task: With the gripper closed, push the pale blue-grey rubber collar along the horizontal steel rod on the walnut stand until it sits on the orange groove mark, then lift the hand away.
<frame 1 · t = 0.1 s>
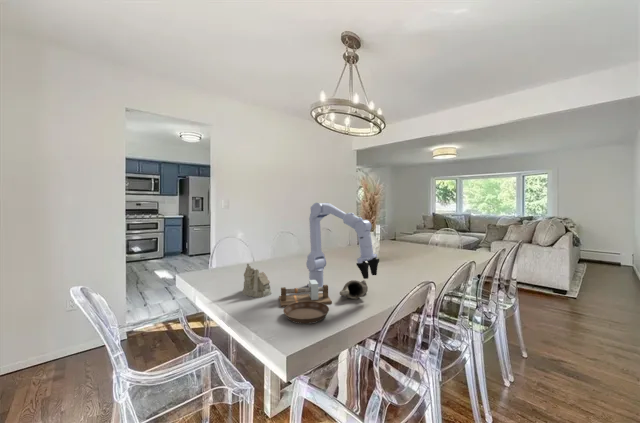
hand: (370, 276, 128), 11 cm above the table, tool pointing down, fingers open, 7 cm apart
ceramic cottage: (259, 292, 141), on the table
collar: (313, 289, 128), point 5 cm above the table, slide at 8.0 cm
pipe: (355, 297, 133), on the table
plant saucer: (306, 317, 110), on the table
rod stand: (304, 300, 127), on the table
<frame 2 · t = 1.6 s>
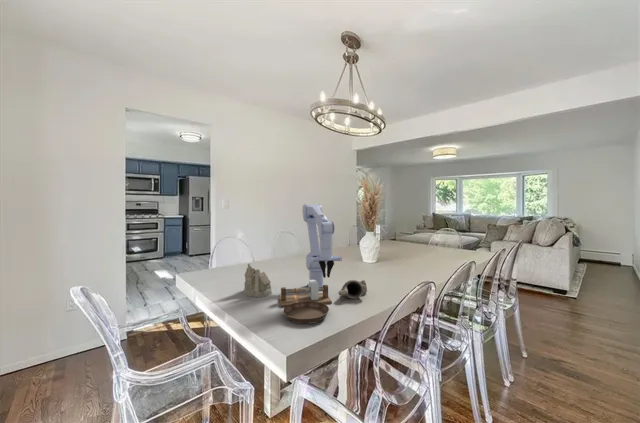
hand: (326, 277, 132), 9 cm above the table, tool pointing down, fingers closed
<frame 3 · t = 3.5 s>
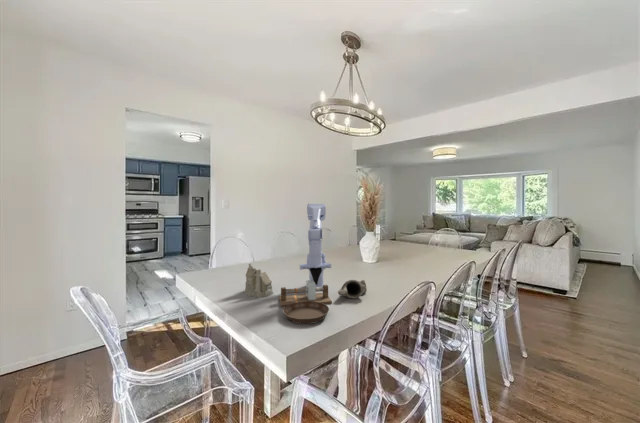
hand: (315, 284, 131), 6 cm above the table, tool pointing down, fingers closed
collar: (310, 289, 128), point 5 cm above the table, slide at 6.7 cm, touching gripper
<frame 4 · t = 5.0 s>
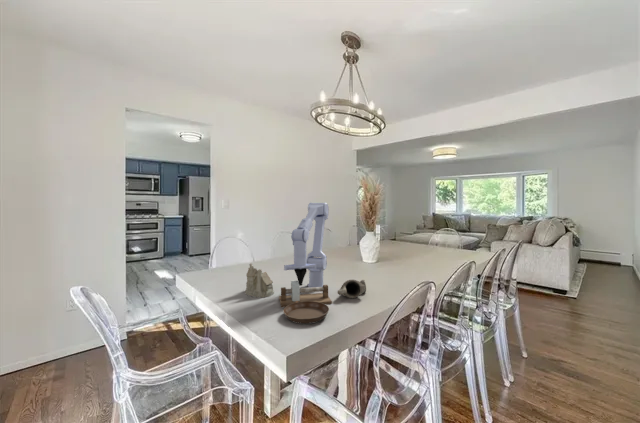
hand: (300, 285, 129), 6 cm above the table, tool pointing down, fingers closed
collar: (295, 290, 126), point 5 cm above the table, slide at -0.3 cm, touching gripper
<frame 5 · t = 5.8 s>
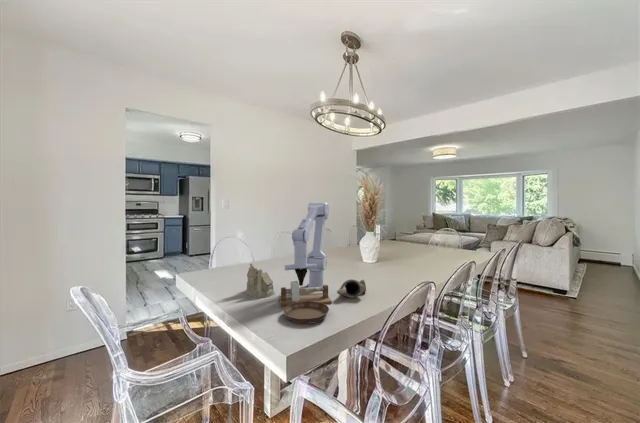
hand: (300, 285, 130), 6 cm above the table, tool pointing down, fingers closed
collar: (294, 290, 126), point 5 cm above the table, slide at -0.5 cm
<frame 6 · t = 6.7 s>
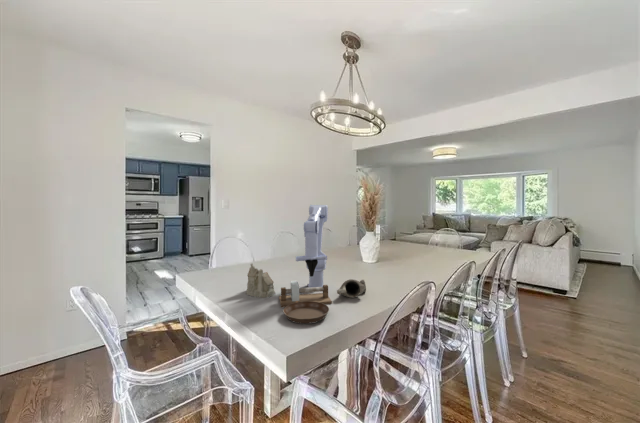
hand: (311, 275, 132), 10 cm above the table, tool pointing down, fingers closed
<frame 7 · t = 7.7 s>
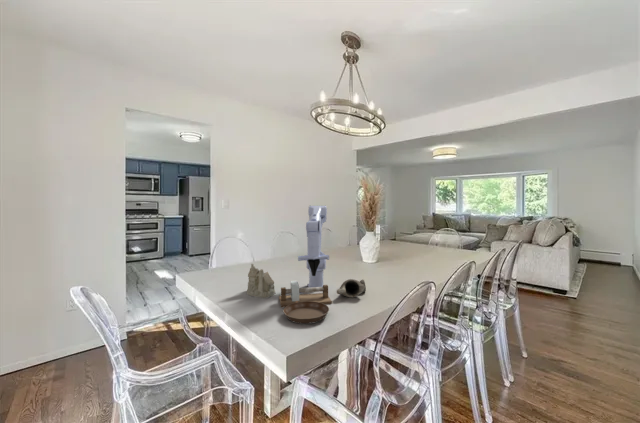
hand: (313, 275, 133), 10 cm above the table, tool pointing down, fingers closed
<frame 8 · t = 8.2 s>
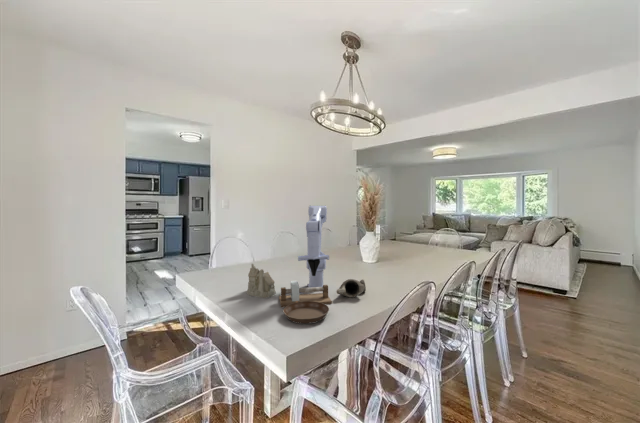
hand: (313, 275, 133), 10 cm above the table, tool pointing down, fingers closed
at the end: collar slide at -0.5 cm; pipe moved 2.4 cm from its start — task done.
